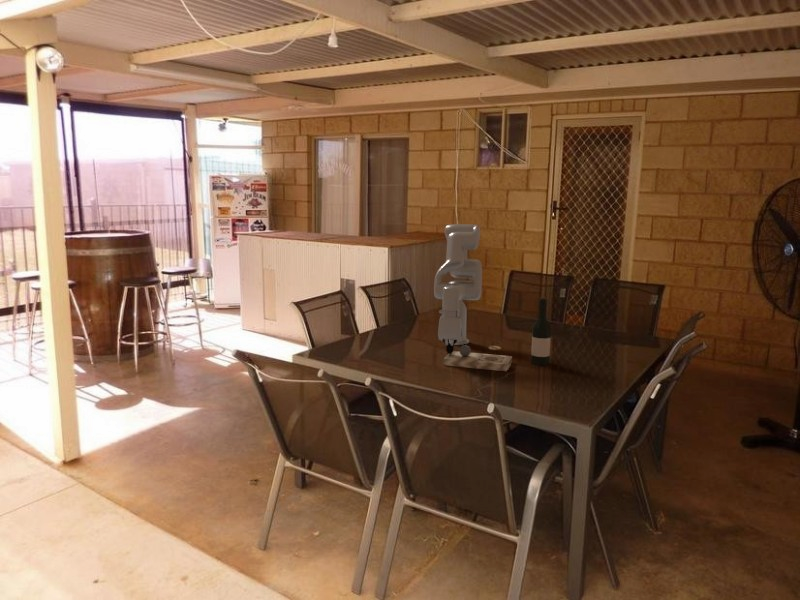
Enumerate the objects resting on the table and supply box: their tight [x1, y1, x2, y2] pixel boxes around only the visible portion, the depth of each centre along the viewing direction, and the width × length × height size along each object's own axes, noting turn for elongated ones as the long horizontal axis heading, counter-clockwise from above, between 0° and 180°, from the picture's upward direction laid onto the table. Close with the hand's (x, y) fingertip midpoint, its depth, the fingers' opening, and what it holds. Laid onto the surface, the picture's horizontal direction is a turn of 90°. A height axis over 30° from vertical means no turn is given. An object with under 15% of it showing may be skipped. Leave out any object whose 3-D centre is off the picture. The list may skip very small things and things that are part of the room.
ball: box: [459, 344, 472, 356], centre depth 272 cm, size 5×5×5 cm
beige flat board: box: [443, 350, 513, 372], centre depth 270 cm, size 28×14×3 cm, turn 71°
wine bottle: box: [530, 296, 552, 367], centre depth 269 cm, size 8×8×30 cm
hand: (449, 353), depth 274 cm, fingers closed
